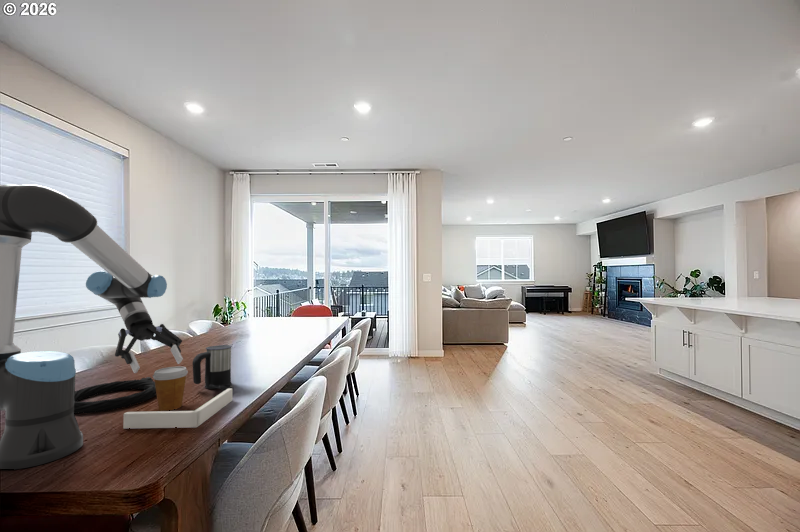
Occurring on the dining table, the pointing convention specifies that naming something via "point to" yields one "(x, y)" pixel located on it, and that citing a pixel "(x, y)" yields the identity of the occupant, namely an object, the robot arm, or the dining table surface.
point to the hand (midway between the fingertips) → (159, 365)
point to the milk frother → (214, 367)
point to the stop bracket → (177, 415)
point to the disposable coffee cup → (170, 387)
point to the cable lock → (116, 402)
